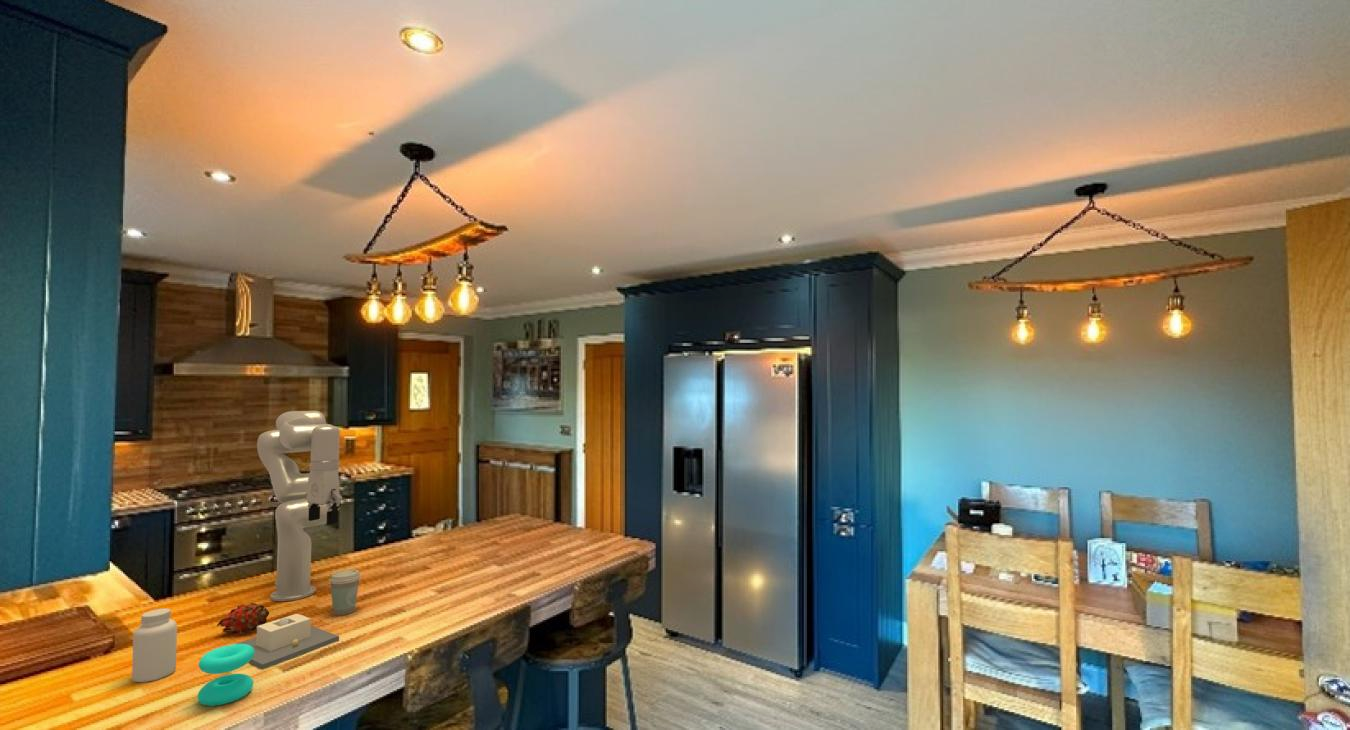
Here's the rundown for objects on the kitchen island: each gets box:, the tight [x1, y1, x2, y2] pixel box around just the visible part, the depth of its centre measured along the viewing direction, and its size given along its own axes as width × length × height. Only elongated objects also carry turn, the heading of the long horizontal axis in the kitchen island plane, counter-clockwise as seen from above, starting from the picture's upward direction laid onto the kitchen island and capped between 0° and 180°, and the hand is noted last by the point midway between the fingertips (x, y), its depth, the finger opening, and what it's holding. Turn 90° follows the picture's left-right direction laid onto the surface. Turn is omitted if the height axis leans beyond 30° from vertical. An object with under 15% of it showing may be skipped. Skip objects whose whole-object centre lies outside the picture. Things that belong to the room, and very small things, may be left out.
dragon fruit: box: [216, 602, 270, 636], centre depth 165 cm, size 8×8×12 cm
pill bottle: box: [131, 608, 178, 683], centre depth 140 cm, size 8×8×15 cm
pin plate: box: [235, 617, 340, 670], centre depth 156 cm, size 19×19×7 cm
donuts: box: [197, 643, 254, 707], centre depth 131 cm, size 10×10×10 cm
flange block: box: [256, 613, 312, 651], centre depth 156 cm, size 10×7×5 cm
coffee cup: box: [328, 568, 361, 617], centre depth 180 cm, size 8×9×12 cm
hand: (323, 521), depth 178 cm, fingers open, 9 cm apart
